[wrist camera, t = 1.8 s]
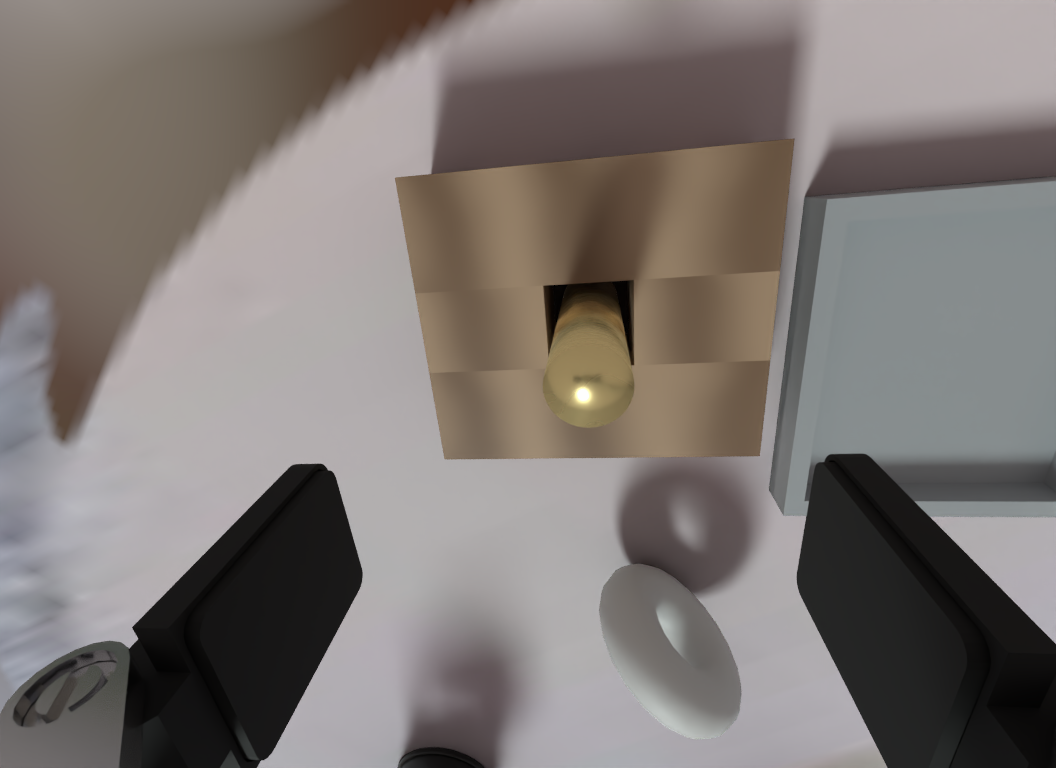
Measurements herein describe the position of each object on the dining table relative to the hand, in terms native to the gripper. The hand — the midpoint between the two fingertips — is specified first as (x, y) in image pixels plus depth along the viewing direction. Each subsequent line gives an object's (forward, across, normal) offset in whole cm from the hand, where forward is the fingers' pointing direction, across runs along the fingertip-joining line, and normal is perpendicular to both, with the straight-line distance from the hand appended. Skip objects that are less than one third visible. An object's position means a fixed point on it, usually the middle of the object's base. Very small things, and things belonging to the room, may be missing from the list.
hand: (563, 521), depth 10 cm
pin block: (+19, -1, 0) cm, 19 cm away
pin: (+19, -1, 0) cm, 19 cm away
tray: (+19, -19, +4) cm, 27 cm away
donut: (+19, -5, +20) cm, 28 cm away
